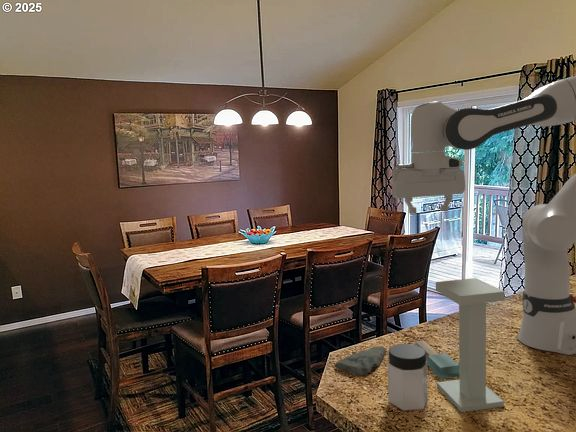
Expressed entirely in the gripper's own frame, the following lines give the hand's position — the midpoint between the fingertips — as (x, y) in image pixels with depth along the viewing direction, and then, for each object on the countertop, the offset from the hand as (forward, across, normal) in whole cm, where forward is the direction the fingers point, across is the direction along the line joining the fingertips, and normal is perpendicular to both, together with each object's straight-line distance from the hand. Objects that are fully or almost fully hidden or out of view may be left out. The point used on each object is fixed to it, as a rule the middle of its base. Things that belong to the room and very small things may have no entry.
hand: (428, 212), depth 125 cm
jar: (+39, -18, -26) cm, 50 cm away
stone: (+40, -21, -5) cm, 45 cm away
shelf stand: (+39, -4, -27) cm, 48 cm away
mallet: (+39, -4, -10) cm, 41 cm away
